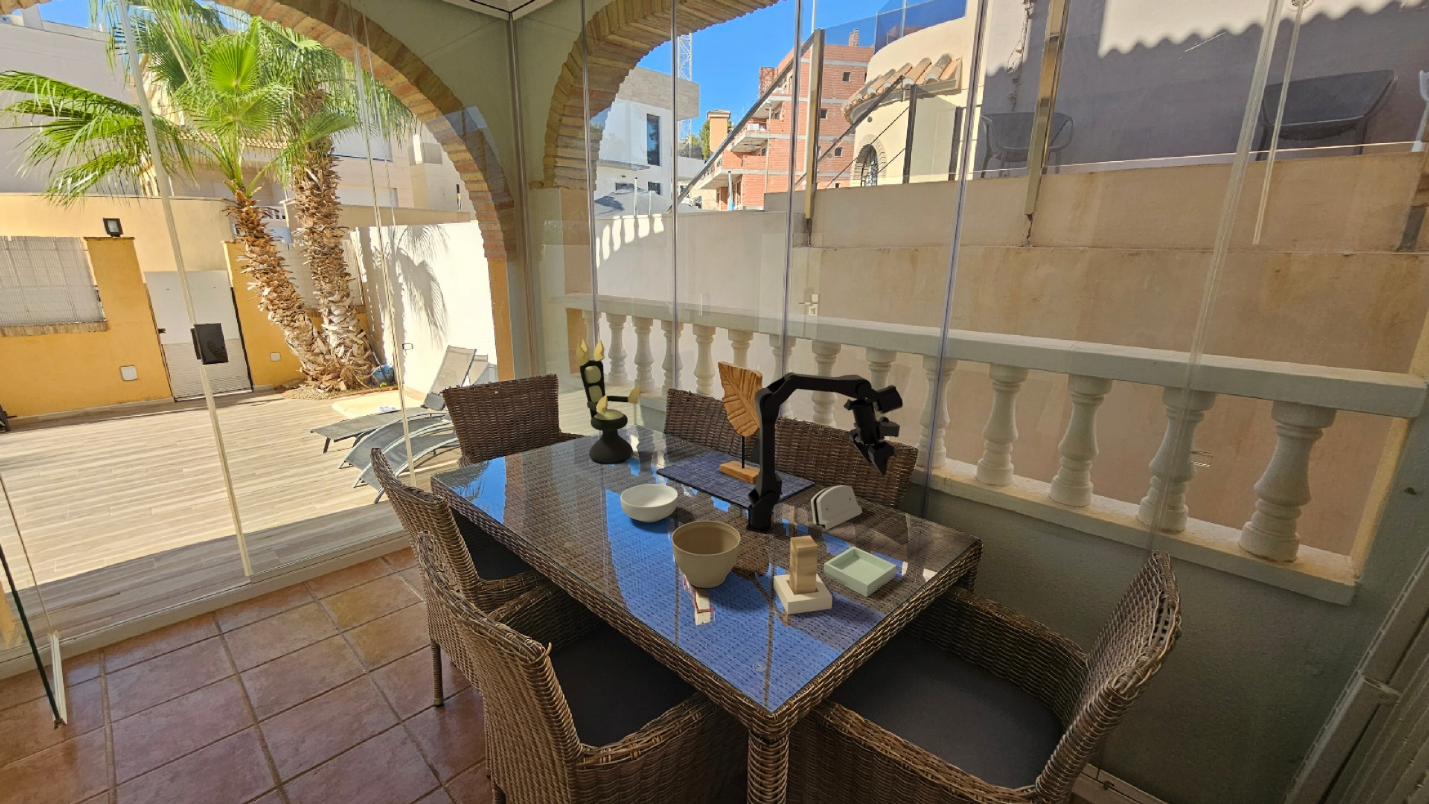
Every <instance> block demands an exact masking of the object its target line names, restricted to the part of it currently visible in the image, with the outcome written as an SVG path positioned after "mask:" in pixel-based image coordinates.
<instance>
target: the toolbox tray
mask: <svg viewBox="0 0 1429 804" xmlns="http://www.w3.org/2000/svg"><path fill="white" fill-rule="evenodd" d="M896 574H897V565H896V564H894V563H892V562H889V561H888V560H885V559H883V558H881V557H879V556H877V555H874V554H871V553H869V552H867V551H865V550H863V549H861V548H858V547H856V546H852V547H850V548H848V549H847V550H845V551H843V552H842V553H840V554H838V555H836V556H834V557H833V558H831V559H829V560H828V561H826V562H823V576H825V577H828V578H829V579H831V580H833V581H835V582H837V583H838V584H840V585H842V586H845V587H847V588H848V589H851V590H852V591H855V592H856V593H858V594H859V595H862V596H864V597H866V598H868V597H869V596H870V595H872V594H873V593H874V592H876V591H877V590H879V589H880V588H881V586H882V585H883V586H885V585H886V584H887V583H889V582H890V581H891V580H893V579H894V578H896ZM883 586H882V587H883ZM878 588H879V589H878Z"/></svg>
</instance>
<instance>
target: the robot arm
mask: <svg viewBox="0 0 1429 804" xmlns="http://www.w3.org/2000/svg"><path fill="white" fill-rule="evenodd" d="M797 390H804V391H812V392H813V391H815V392H827V393H836V394H840V395H843V396H846V397H849V398H848V399H846V402H845V403H844V404H843V408H844V409H845V410H847V411H848V412H850V411H852V414H853V415H852V416H853V418H854V422H853V427H854V428H853V429H850V431H849V432H848V438H849V440H850V441H851V443H852V445H854V447H855V448H856V449H857V450H858V451H859V453H860V454H861V456H862V457H863V459H864V460H865V461H866V462H867V463H868V464H869V465H870V464H872V463H873V465H874V466H875V467H876V470H878V472H879V473H880V475H881V476H886V475H887V472H888V471H887V470H888V462H889V460H890V458H891V457H893V456H896V454H897V451H896V447H895V446H894V445H893V444H892V443H890V442H888V441H886V440H885V439H886V437H894V438H898V437H900V436H899V435H900V430H901V429H900V427H901V425H900V424H898V423H896V422H895V421H892V420H890V419H889V417H887V416H880V417H879V419H878V420H877V415H876V413H879V414H881V415H885V414H887V413H890V412H893V411H896V410H899V409H902V408H903V405H904V402H903V399H902V397H901V395H900V393H899V392H898V390H897V386H895V385H893V384H891V385H888V386H886V387H883V388H881V389H878V390H876V389H874V388H873V387H872V384H871V381H869V380H868V379H866V378H864V376H863V377H862V376H861V375H859V374H844V375H841V376H828V375H827V376H825V375H814V374H806V373H797V372H796V373H795V372H792V371H790V372H789V371H788V372H787V373H785V374H784V375H783V376H782V377H780V378H778V379H776V380H774V381H773V382H771V383H770V384H768V385H767V386H766V387H763V388H759V389H758V390H757V391H756V392H755V393H754V398H753V399H754V400H753V401H754V405H755V410H756V411H755V412H756V414H757V417H758V421H759V471H758V474H757V476H756V480H755V487H753V489H752V490H750V492H749V493H747V497H748V500H749V502H750V504H748V506H747V525H746V526H745V529H746V530H749V531H753V532H759V533H763V534H768V533H769V532H770V530H771V529H772V528H773V527H774V526H775V525H774V524H775V511H773V510H774V507H775V506H776V504H777V503H778V502H779V501H780V500H781V496H783V491H782V488H783V480H782V478H781V476H780V475H779V474H778V472H776V423H777V421H778V418H779V415H780V409H781V405H783V404H784V403H785V402H786V401H788V399H789V398H790V397H791V395H792V394H793V393H794V392H796V391H797ZM850 398H852V399H853V400H851V399H850ZM882 440H884V441H882ZM880 441H881V442H880Z"/></svg>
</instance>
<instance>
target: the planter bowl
mask: <svg viewBox="0 0 1429 804" xmlns="http://www.w3.org/2000/svg"><path fill="white" fill-rule="evenodd" d="M671 544H672V551H673V556H674V558H675V559H674V560H675V561H676V564H677V566H678V568H679V569H680V571H681V572H682V574H683V575H684V576H685V579H686V580H687V582H688V583H689V584H690V585H691V586H694V587H697V588H703V589H709V588H711V589H712V588H715V587H719V586H720V585H721V584H723V583H724V582H725V580H726V577H727V576H728V574H729V573H730V572H731V571H732V570H733V567H734V566H735V564H736V561H737V560H738V555H739V550H740V544H741V534H740V533H739V531H738V530H737V529H736V528H734V527H733V526H731V525H729V524H727V523H724V522H722V521H717V520H716V521H714V520H698V521H697V520H696V521H691V522H688V523H685V524H683V525H680V526H679V527H677V528H676V529H675V530H674V531H673V532H672V535H671Z"/></svg>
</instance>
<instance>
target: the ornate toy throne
mask: <svg viewBox="0 0 1429 804" xmlns="http://www.w3.org/2000/svg"><path fill="white" fill-rule="evenodd" d="M597 342H598V343H597V345H596V347H595V349H594V352H593V354H592V355H593V357H594V359H591V355H590V348H589V346H588V344H587V342H586V341H585V338H582V341H581V344H579V343H577V345H576V350H575V357H574V361H575V362H576V363H577V365H578V366H579V373H580V377H581V382H582V385H583V387H584V392H585V396H586V399H587V402H586V406H587V407H586V408H589V413H590V425H591V427H592V428H593V429H595V430H597V431H599V432H601V433H602V434H601V436H600V438H599V439H598V440H597V441H595V442H594V443H593V444H592V446H591V447H590V449H589V453H588V456H589V458H590V459H591V460H593V461H595V462H598V463H602V464H603V463H605V464H606V463H608V464H609V463H610V464H611V463H617V462H618V463H619V462H623V461H626V460H627V459H629V458H630V457H632V455H633V453H634V449H633V447H632V446H633V445H631V443H629V442H628V441H627V440H626V439H624V438H623V437H622V436H620V435H619V432H618V430H621V429H623V428H625V427H626V426H627V424H628V423H629V419H628V416H627V415H626V414H625V413H623V412H622V411H620V410H618V409H615V408H608V407H609V404H608V403H609V402H613V403H614V402H615V403H629V404H634V405H635V404H638V405H639V398H640V397H641V396H642V393H641V385H640V384H639V385H637V386H636V388H635V387H634V388H633V389H632V390H631V391H630V393H629V395H628V396H624V395H608V394H607V393H606V385H605V372H604V371H605V370H604V363H603V360H604V359H605V358H606V356H605V349H606V348H605V347H604V343H603V342H602V340H601V338H599V339H598V341H597Z"/></svg>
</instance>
